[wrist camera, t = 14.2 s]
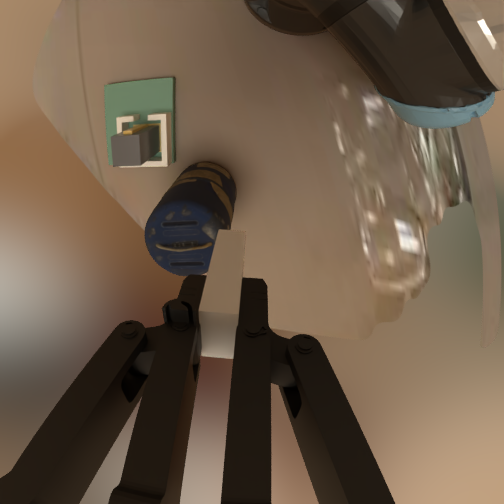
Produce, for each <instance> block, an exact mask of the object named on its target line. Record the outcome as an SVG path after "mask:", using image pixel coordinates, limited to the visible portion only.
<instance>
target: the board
mask: <svg viewBox="0 0 504 504" xmlns="http://www.w3.org/2000/svg"><path fill="white" fill-rule="evenodd" d="M104 92H105V120H106V137H107V150H108V161H109V165H113V161H112V149H111V136H113V135H116V134H117V120H116V118H117V117H120V116H123V115H134V114H140V119H139V120H136V121H134V122H128V123H129V129H130V128H132V127H133V125H138V124H155V123H161V120H148V115H149V114H152V113H164V112H171V136H172V163H174V162H175V161H176V158H175V78H160V79H149V80H139V81H131V82H123V83H116V84H109V85H104ZM153 157H162V152H158V153H157V154H156V155H154V156H153Z"/></svg>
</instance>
